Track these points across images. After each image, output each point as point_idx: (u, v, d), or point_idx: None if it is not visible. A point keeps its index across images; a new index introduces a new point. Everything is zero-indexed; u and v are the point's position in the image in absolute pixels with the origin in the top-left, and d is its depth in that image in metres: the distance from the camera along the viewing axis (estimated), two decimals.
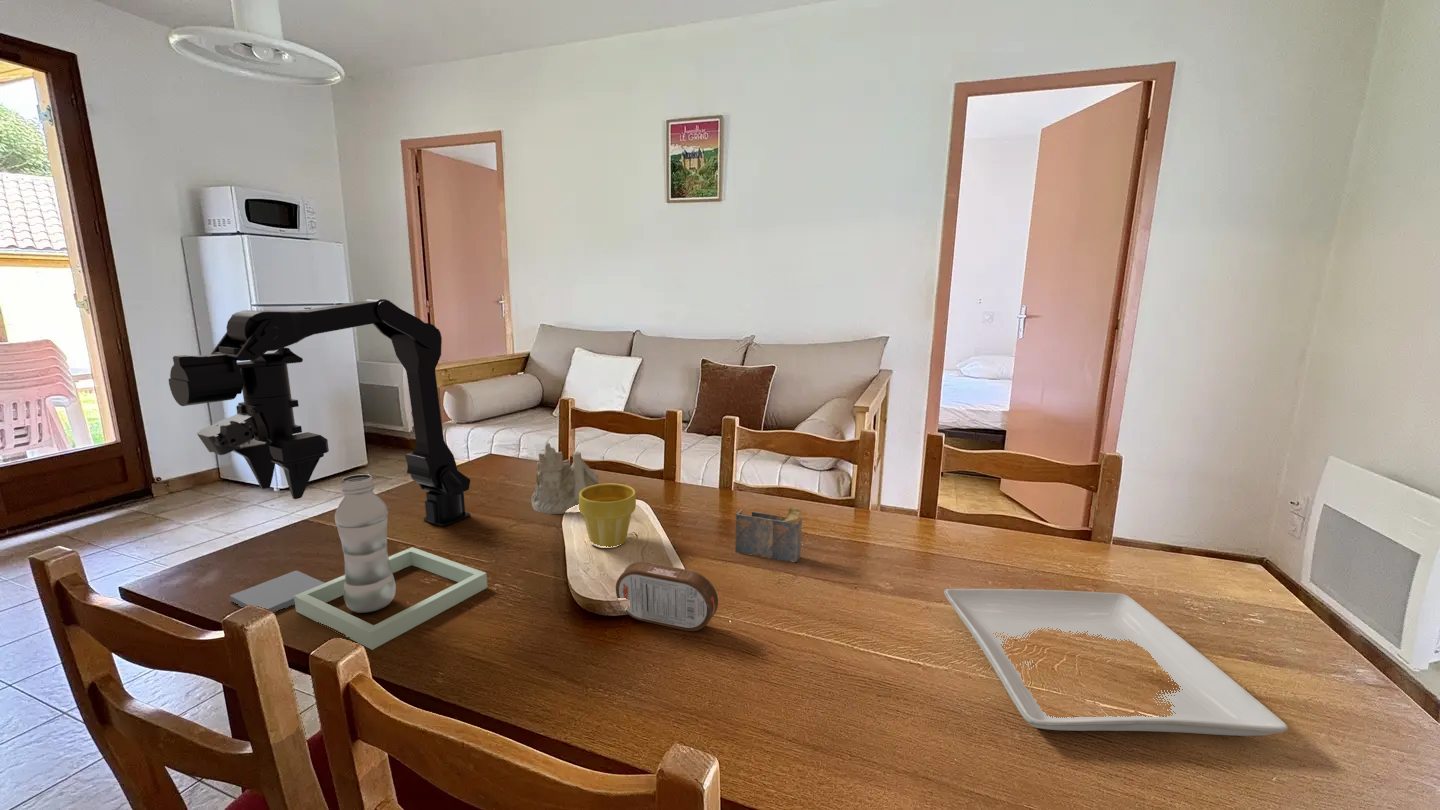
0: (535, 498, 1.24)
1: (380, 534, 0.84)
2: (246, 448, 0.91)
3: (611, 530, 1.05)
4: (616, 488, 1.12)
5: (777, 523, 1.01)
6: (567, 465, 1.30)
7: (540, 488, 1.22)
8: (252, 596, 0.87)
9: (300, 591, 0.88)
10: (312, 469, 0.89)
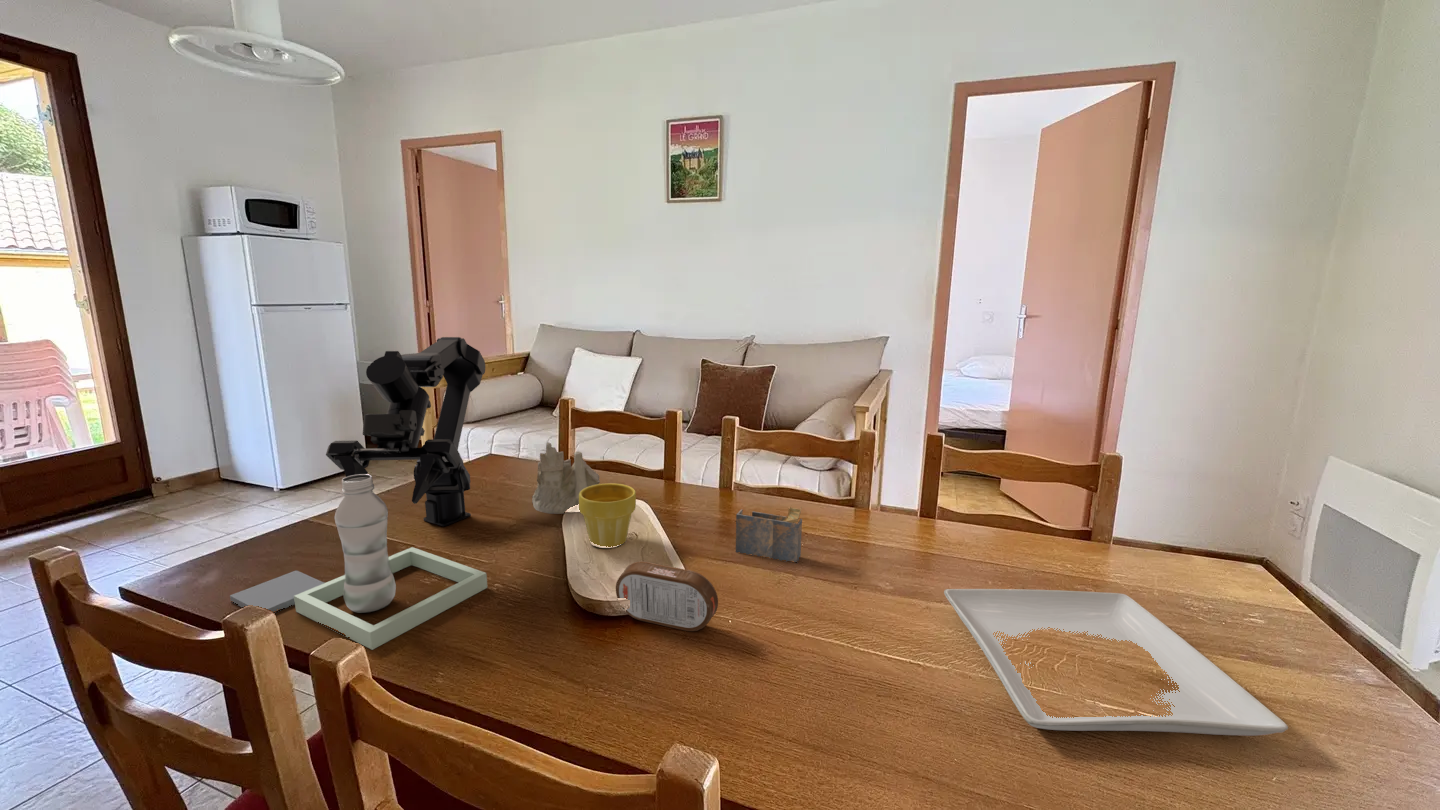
0: (536, 498, 1.24)
1: (380, 534, 0.84)
2: (355, 460, 0.93)
3: (611, 530, 1.05)
4: (616, 488, 1.12)
5: (777, 523, 1.01)
6: (568, 465, 1.30)
7: (541, 488, 1.22)
8: (252, 596, 0.87)
9: (300, 591, 0.88)
10: (433, 481, 0.96)
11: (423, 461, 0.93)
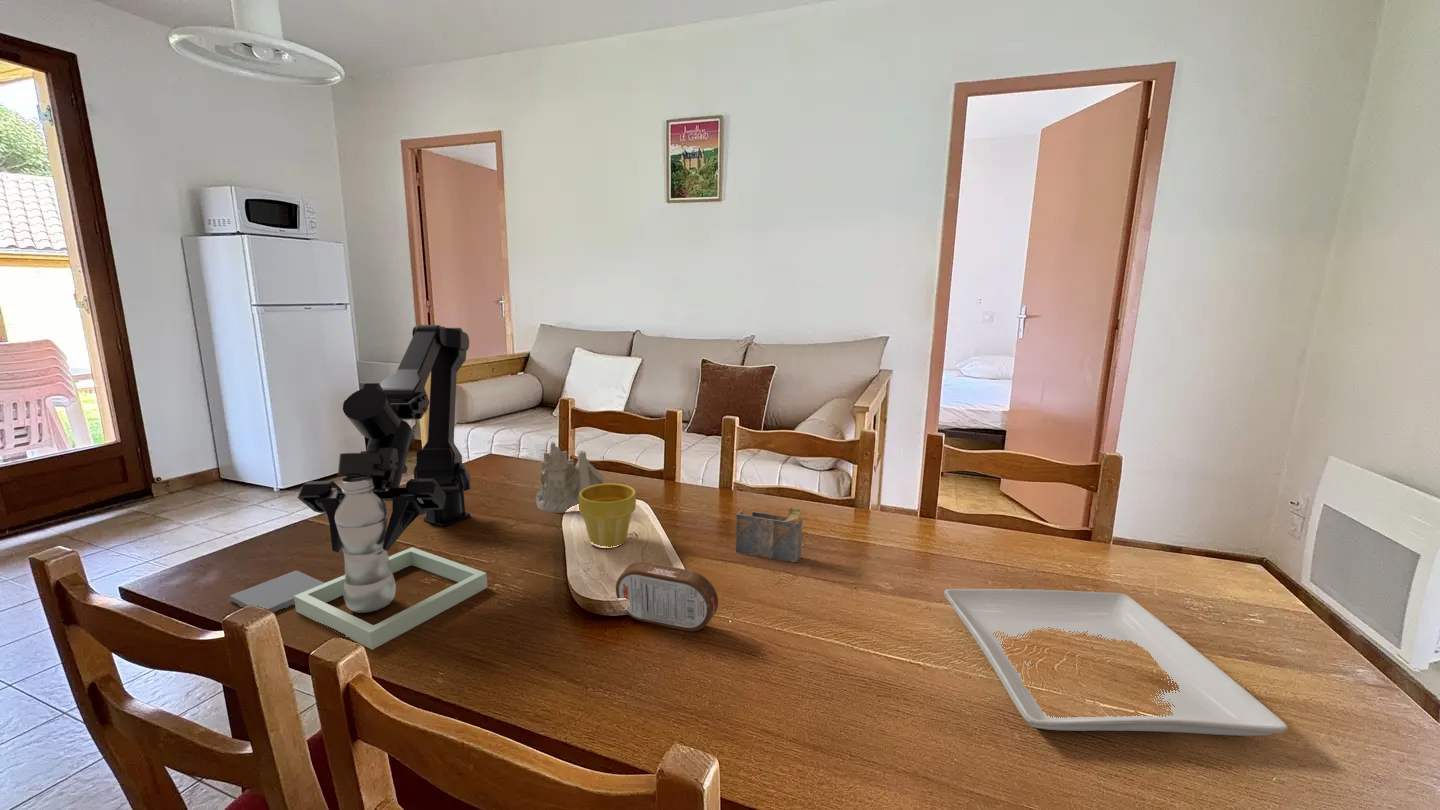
0: (540, 497, 1.25)
1: (380, 534, 0.84)
2: (339, 502, 0.85)
3: (611, 530, 1.05)
4: (616, 488, 1.12)
5: (777, 523, 1.01)
6: (571, 464, 1.30)
7: (545, 487, 1.23)
8: (252, 596, 0.87)
9: (300, 591, 0.88)
10: (407, 525, 0.88)
11: (396, 503, 0.85)
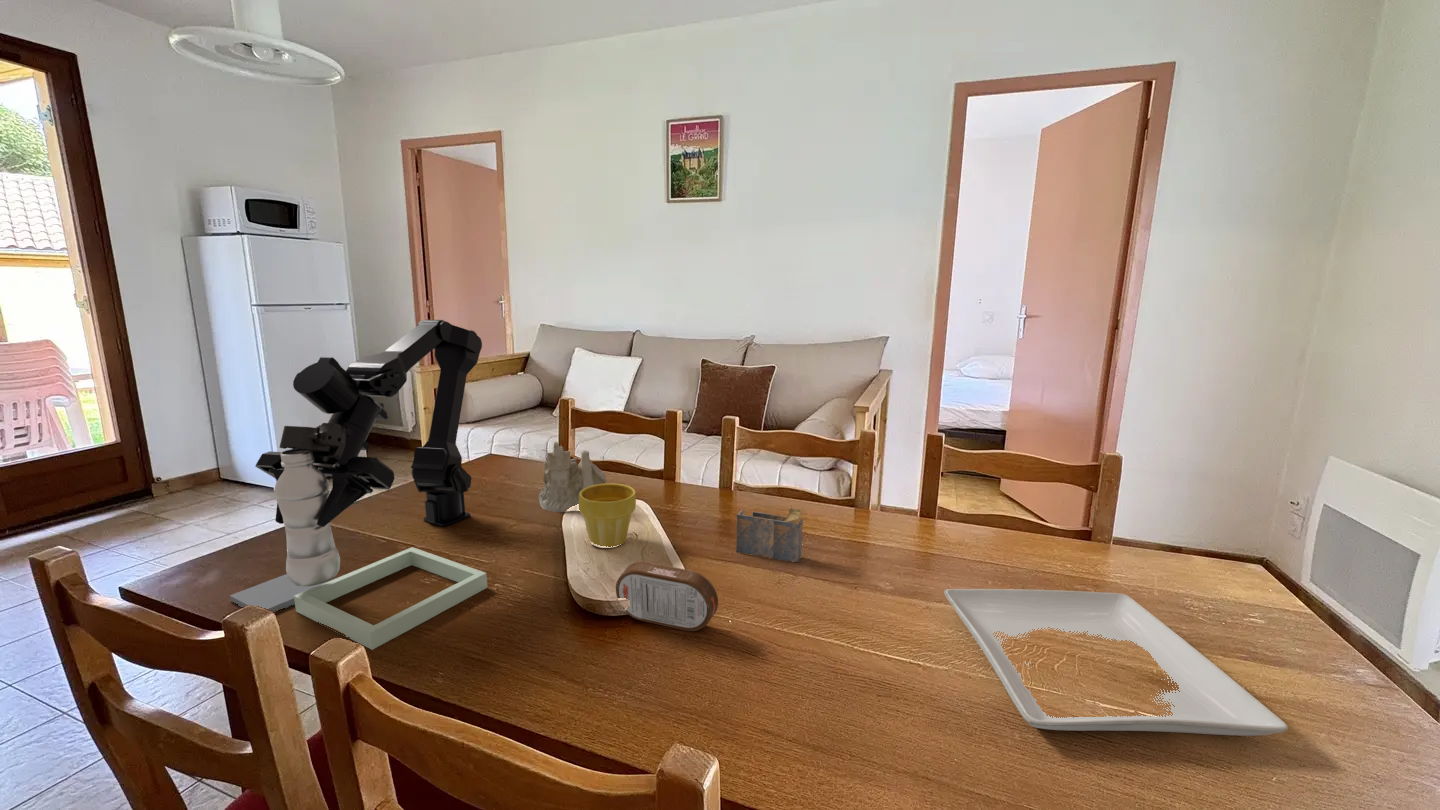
0: (543, 497, 1.25)
1: (317, 509, 0.83)
2: None
3: (611, 530, 1.05)
4: (616, 488, 1.12)
5: (777, 523, 1.01)
6: (574, 464, 1.30)
7: (548, 487, 1.23)
8: (252, 596, 0.87)
9: (300, 591, 0.88)
10: (351, 503, 0.86)
11: (335, 480, 0.84)
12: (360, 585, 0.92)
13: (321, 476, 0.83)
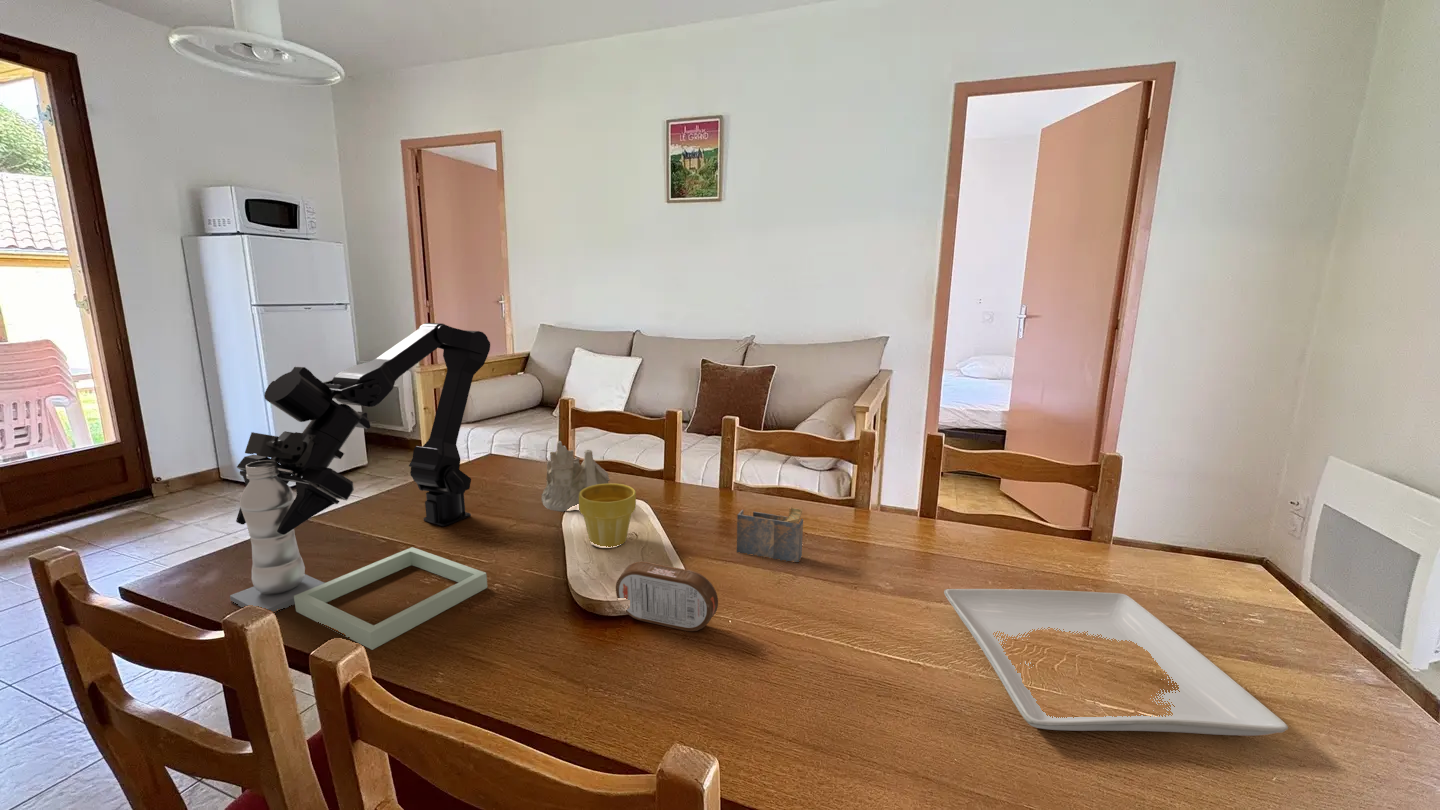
0: (546, 496, 1.25)
1: (276, 521, 0.85)
2: None
3: (611, 530, 1.05)
4: (616, 488, 1.12)
5: (778, 523, 1.01)
6: (577, 463, 1.31)
7: (552, 486, 1.24)
8: (252, 596, 0.87)
9: (300, 591, 0.88)
10: (316, 512, 0.87)
11: (298, 489, 0.85)
12: (360, 585, 0.92)
13: (282, 489, 0.85)
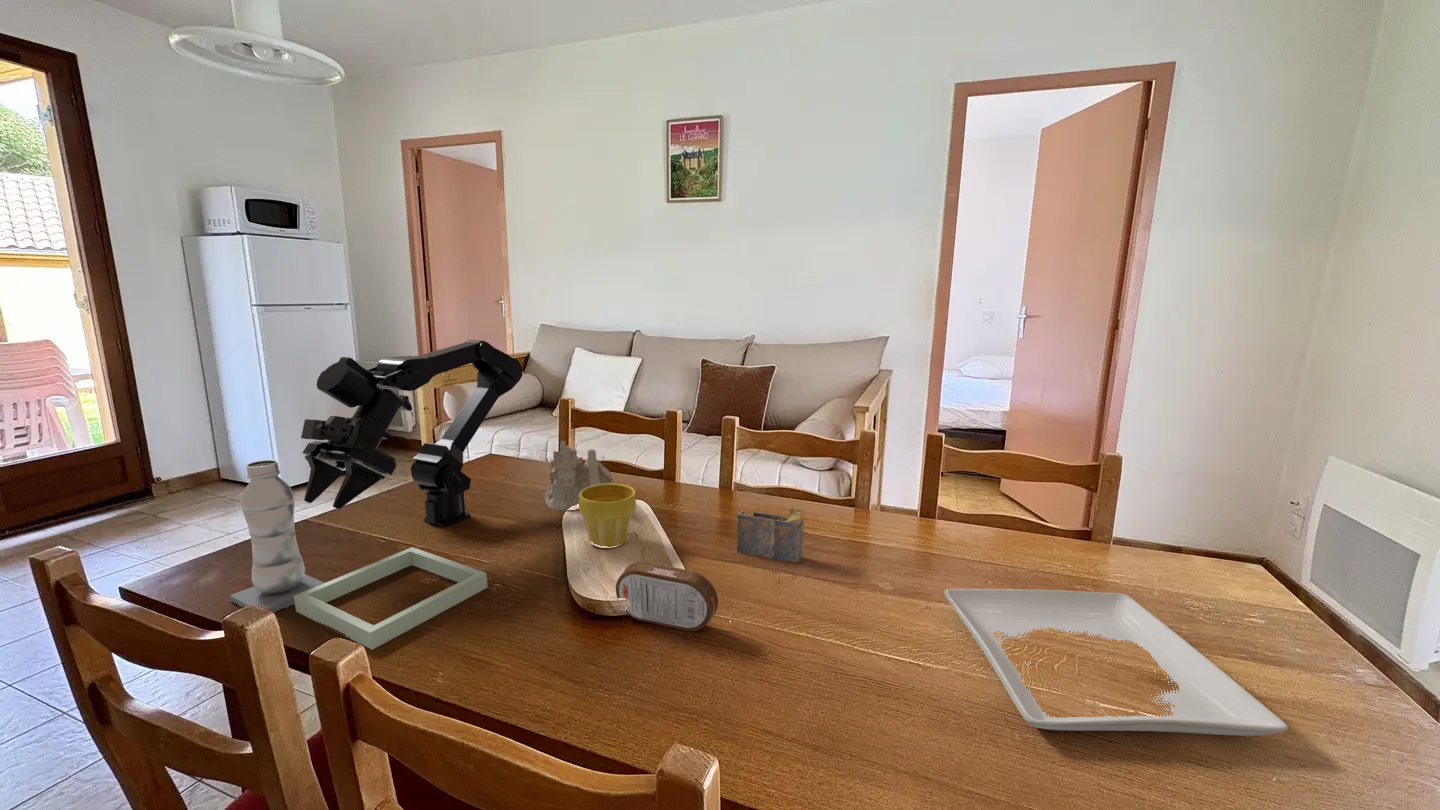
0: (550, 495, 1.26)
1: (276, 521, 0.85)
2: (319, 460, 0.99)
3: (611, 530, 1.05)
4: (616, 488, 1.12)
5: (778, 523, 1.01)
6: (580, 463, 1.31)
7: (555, 485, 1.24)
8: (252, 596, 0.87)
9: (300, 591, 0.88)
10: (366, 487, 0.95)
11: (346, 467, 0.93)
12: (360, 585, 0.92)
13: (283, 489, 0.86)
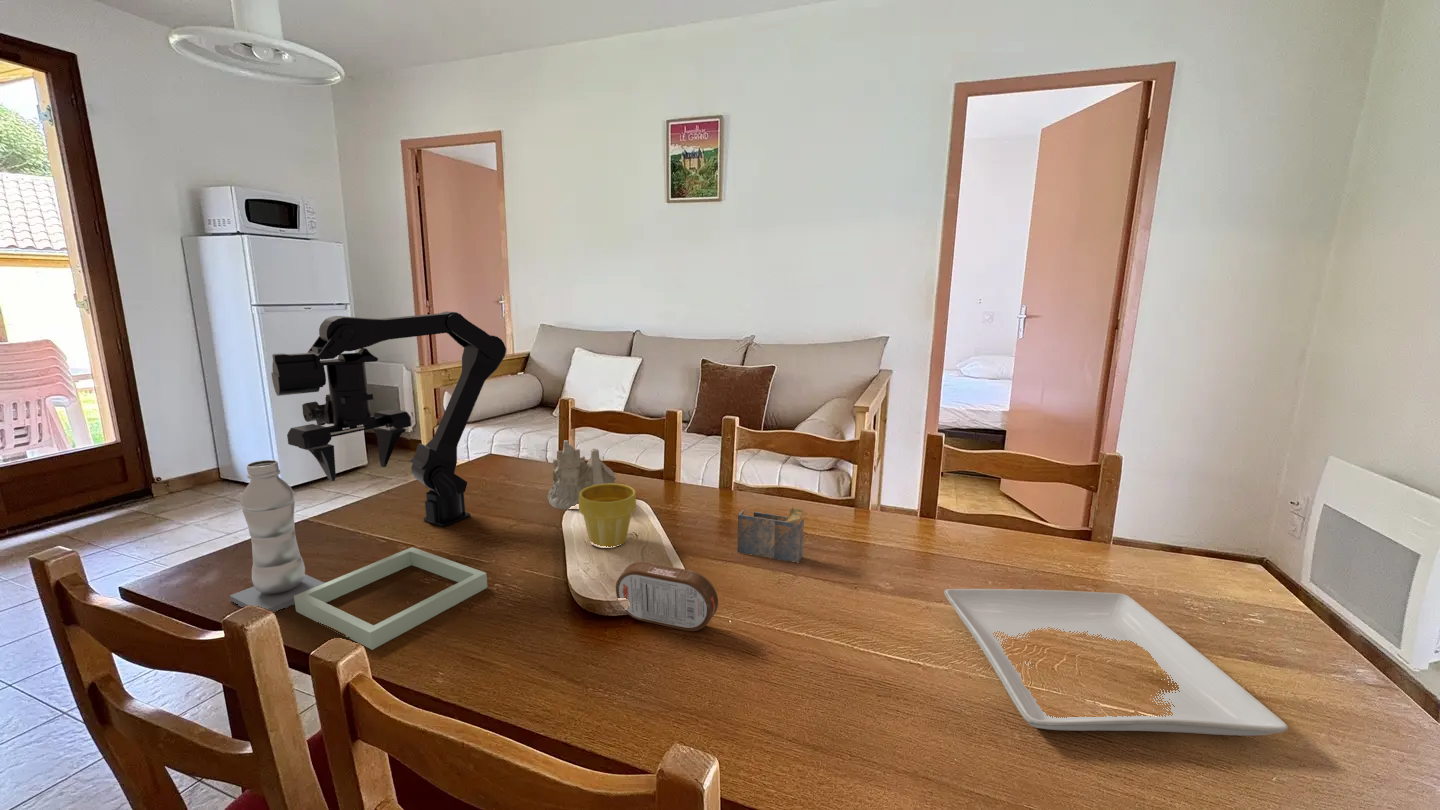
0: (553, 495, 1.26)
1: (276, 521, 0.85)
2: (377, 429, 1.09)
3: (611, 530, 1.05)
4: (616, 488, 1.12)
5: (778, 523, 1.01)
6: (583, 462, 1.32)
7: (559, 485, 1.24)
8: (252, 596, 0.87)
9: (300, 591, 0.88)
10: (325, 460, 0.99)
11: None
12: (360, 585, 0.92)
13: (283, 489, 0.86)
